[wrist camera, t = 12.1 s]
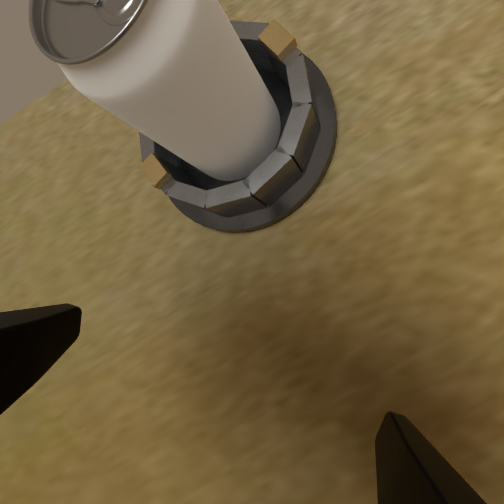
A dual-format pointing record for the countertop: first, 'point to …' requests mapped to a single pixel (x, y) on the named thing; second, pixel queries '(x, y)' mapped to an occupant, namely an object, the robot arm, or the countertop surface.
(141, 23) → the can
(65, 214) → the countertop surface
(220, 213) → the collar
